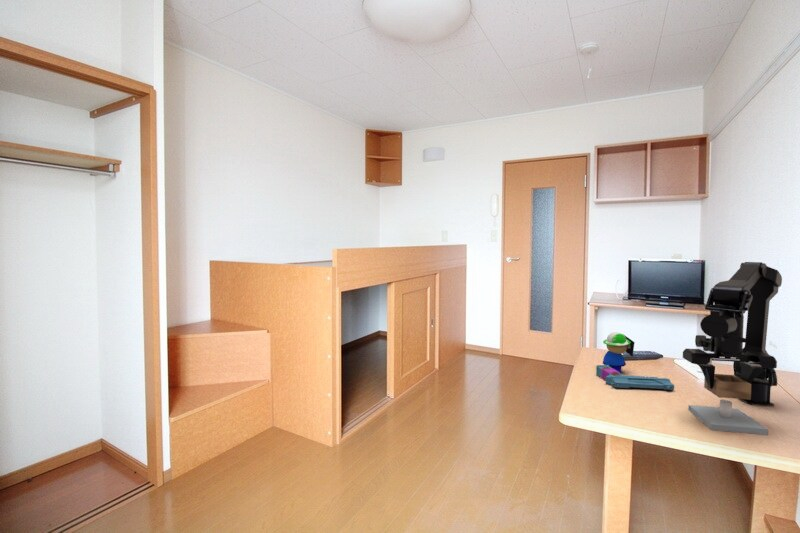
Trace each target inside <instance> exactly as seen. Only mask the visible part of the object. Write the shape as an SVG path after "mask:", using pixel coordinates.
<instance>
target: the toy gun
mask: <svg viewBox="0 0 800 533" xmlns="http://www.w3.org/2000/svg"><path fill="white" fill-rule="evenodd" d="M595 367H596V369H595V370H596V372H595V373H596V375H595V376H597V377H600V378H601V380H603V381H605V385H610V386H611V387H613V388H620V389H621V388H622V389H629V388H634V389H656V390H667V391H668V390H669V391H675V384H674V383H672V382H671V380H670V379H669V378H666V377H658V376H644V375H643V376H642V375H641V376H640V375H629V374H622V372H621V373H619V371H617V370H615V369H613V368H611V367H610V366H609V365H604V364H601V365H600V364H598V365H596V366H595Z"/></svg>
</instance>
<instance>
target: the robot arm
mask: <svg viewBox="0 0 800 533" xmlns="http://www.w3.org/2000/svg"><path fill="white" fill-rule="evenodd" d="M782 283H783V277H782V274H781V273H780V271H779V270H777V269H776V268H773V267H770V266H767V263H764V262H759V261H756V262H755V261H745V262H741V263H740V266H739V269H738V270H736V272H735V273H734V274H733V275H732V276H731V277H730V278H729V279H728V280H723V281H719V282H718V283H716V284H714V286H713V287H712V288H711V289H710V290H709V295H708V297H707V300H706V304H705V306H704V310H705V311H710V312H709V314H708V315H705V316H704V317H703V318H702V319H701V321H700V329H701V331H702V332H703V334H697V335H695V337H694V338H695V339H694V342H695V347H698V348H684V350H683V351H682V359H684V360H686V361H687V362H689V363H691V364H694V365H697V366H699V369H700V370H701V372H702V375H703V376H704V379H706V382H707V384H708V387H709V388H710V389H712V388H713V385H714V375H715V374H716V366H715V365H713V364H712V361H713V362H714V361H715V362H716V361H717V362H732V365H733V375H735V376H737V377H739V378H741V379H742V380H744V381H746V382H748V383H750V384H751V400H748V399H740V400H741V401H743V402H744V403H746V404H747V405H760V406H772V407H774V406H775V404H774V403H773V402H771V390H772V389H771V387H777V386H778V376H777V371H776V370H775V369H777V367H778V360H777V359H776V357H774V356H773V355H771V354H769V353H768V351H767V349H766V347H767V345H766V344H767V336H768V335H767V333H768V322H769V312H770V311H769V310H770V303H771V302H770V301H771V300H772V299H773V298H774V297H775V296H776V295H777V294H779V288H780V287H781V286H782ZM746 312H747V319H746V328H745V330H746V331H745V337H744V319H745V318H744V317H745V316H744V314H745V313H746ZM707 336H708V337H710V338H708V337H707ZM743 343H744V347H743ZM700 348H702V349H700Z"/></svg>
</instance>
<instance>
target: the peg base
mask: <svg viewBox="0 0 800 533" xmlns="http://www.w3.org/2000/svg"><path fill="white" fill-rule="evenodd" d="M687 410H688V412H690V413H691V414H692V415H693V416H695V417H696V418H697V419H698V420H700V422H702V423H703V424H704V425H706V427H708V428H709V429H710V430H712V431H718V432H719V431H721V432H731V433H733V432H734V433H740V434H741V433H744V434H755V435H765V436H768V434H769V429H768V428H767V426H764V425H762V424H761V423H759V421H757V420H756V419H754V418H752V417H751V416H750V415H748V414H747V413H745V412H743V410H740V409H739V408H735V407H733V402H732V401H730V400H727V399H720V400H719V406H709V405H707V406H706V405H694V404H688V408H687Z"/></svg>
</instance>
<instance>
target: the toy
mask: <svg viewBox="0 0 800 533" xmlns="http://www.w3.org/2000/svg"><path fill="white" fill-rule="evenodd" d="M602 342H603V344H604V345H606V349H607V350H608V351H607V352H606V353H605V354H604V356H603V360H602V365H609V366H610V367H611V368H613V369H615V370H617V371H619V373H621V374H622V368H623V367H626V366H627V362H626V360H625V358H624V355H623V353H627V354H629V356H631V357H632V358H633V356H634V349H635V341H634V340H632V339H631V338H629V337H628V336H626V335H625V334H623V333H620V332H618V331H616V332H611V333H609V334H608V335H607V337H606V339H604V340H603V341H602Z"/></svg>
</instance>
